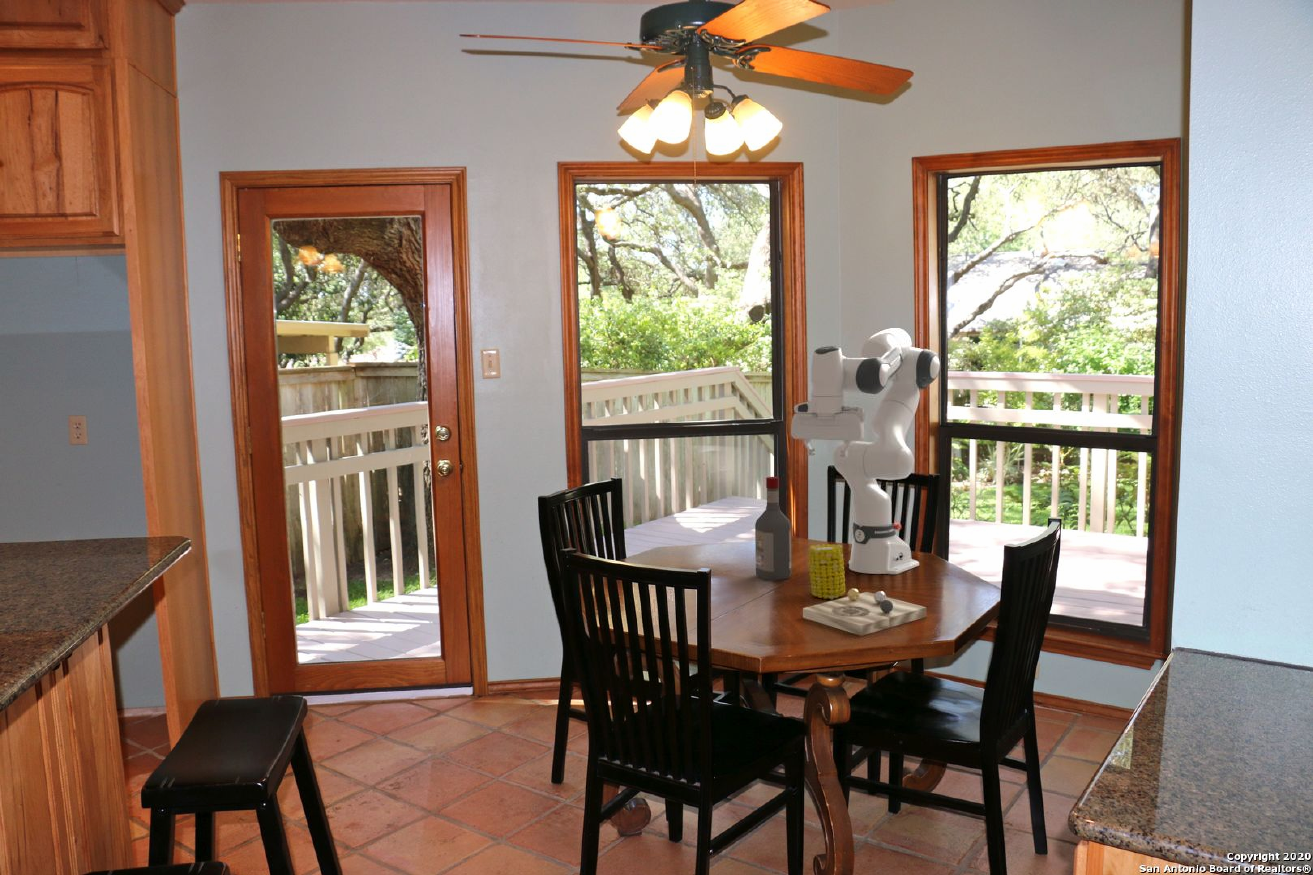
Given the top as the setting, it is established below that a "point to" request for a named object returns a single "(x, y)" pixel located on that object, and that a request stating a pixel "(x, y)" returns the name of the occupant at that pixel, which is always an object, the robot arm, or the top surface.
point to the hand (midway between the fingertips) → (827, 456)
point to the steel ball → (880, 597)
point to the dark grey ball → (886, 606)
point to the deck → (863, 614)
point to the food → (827, 571)
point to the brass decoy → (853, 594)
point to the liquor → (773, 538)
